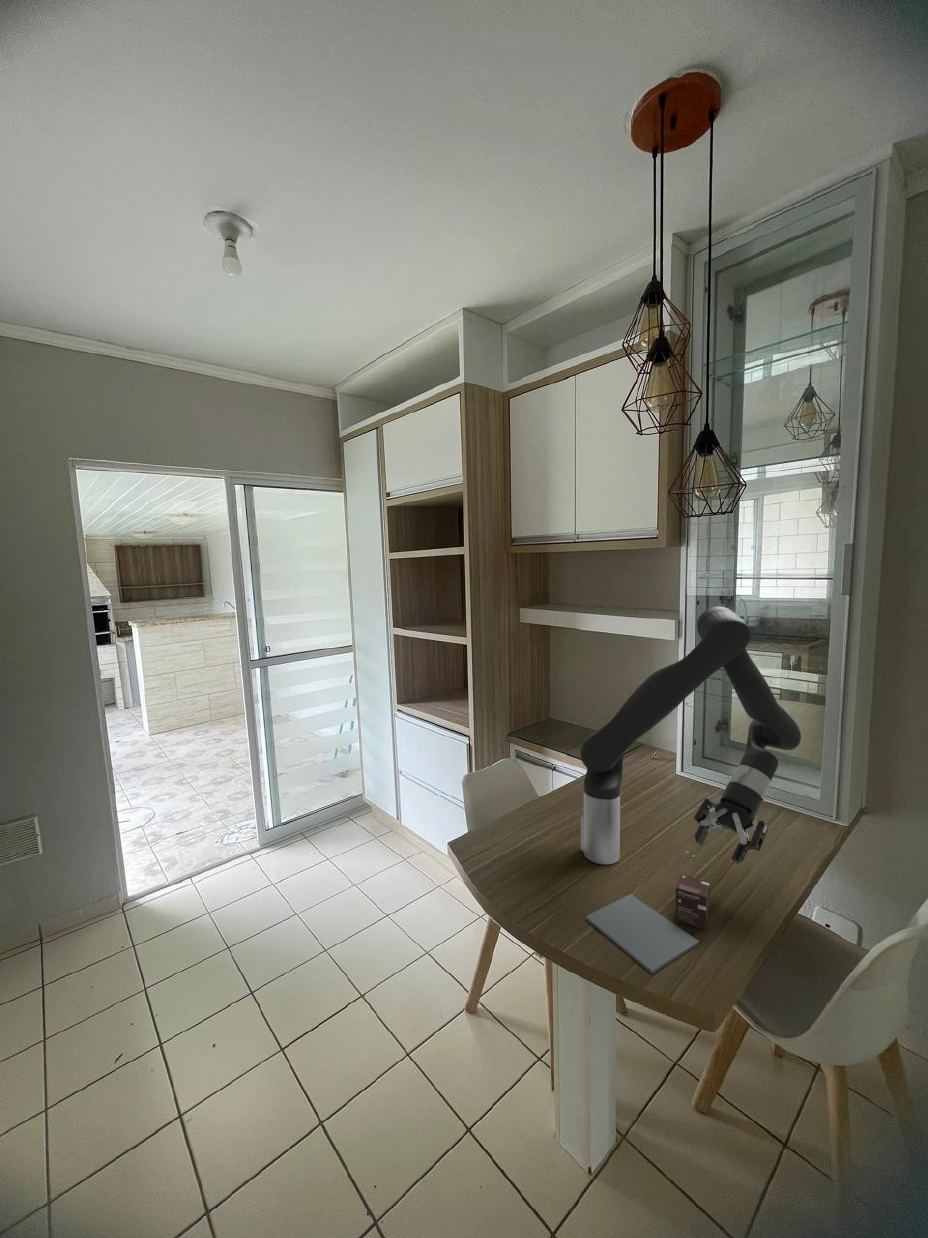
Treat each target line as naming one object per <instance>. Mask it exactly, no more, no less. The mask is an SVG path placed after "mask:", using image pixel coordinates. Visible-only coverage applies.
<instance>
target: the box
mask: <svg viewBox="0 0 928 1238" xmlns="http://www.w3.org/2000/svg"><path fill="white" fill-rule="evenodd" d="M710 892H711V883H710V882H708V881H705V880H702V879H699V878H697V877H694V876H689V875H686V874H682V873H680V875H679V878H678V881H677V884H676V887H675V906H674V907H675V910H674V912H675V914H674V917H675V918H674V919H675V920H677V921H678V922H681V923H684V924H687V925H689V926H692V927H695V928H698V929H701V930H706V929H707V924H708V919H709V914H710V894H711V893H710Z"/></svg>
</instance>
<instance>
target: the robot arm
mask: <svg viewBox="0 0 928 1238" xmlns="http://www.w3.org/2000/svg"><path fill="white" fill-rule="evenodd" d="M696 629H697V634H698V636H699V638H700V639H701V640H700V641H699V643H698V644H697V645H696V646H695V647H694V648H693V649H692V650H691V651H690V652H689V653H688V654H687V655H686V656H684V657H683V658H682V659H679V660H678V661H676V662H674V663H671V664H668V665H666V666H664V667H661V668H659V669H658V670H655V671H654V672H653V673H651V674H650V675H649V676H648V677H647V678H646V679H645V680H644V681H643V682H642V683H641V684H640V685H639V686H637V688H636V689H635V690H634V691H633V693H632V694H630V696H629V697H628V698H627V700H626V701H625V702H624V703H623V705H622V706H621V707H620V708H619V710H618V711H617V712H616V714H615V715H614V716H613V718H611V720H610V721H608V722H607V724H605V725H604V726H602V728H600V729H596V730H595V731H593V732H592V733H590V735H589V736H587V738H585V740H584V741H583V742H582V744H581V747H580V759H581V762H582V764H583V766H584V767H585V768H586V773H585V777H584V780H583V814H582V815H581V816H580V850H581V851H582V852H583V855H584V857H585V858H586V859H588V861H591V862H592V863H595V864H600V865H612V864H615V863H617V862H618V861H620V843H621V842H620V841H621V840H620V839H621V838H620V837H621V836H620V835H621V833H620V832H621V831H620V830H621V823H620V822H621V787H622V780H623V766H624V765H623V763H624V759H623V758H624V754H625V752H626V751H627V750H629V748H630V747H631V746H632V745H633V744H634V743H635V742H636V741H637V740H638V739H640V738H641V737H642V736H644V735H645V734H646V733H648V732H650V730H651V729H653V728H655V726H657V724H659V723H660V722H662V721H663V720H664V719H666V718H667V716H669V715H670V714H671V713H672V712H673V711H674V710H675V709H676V708H677V707H679V706H680V705H681V704H682V702H683V701H684V700H685V699H687V698H688V696H689V695H691V694H692V693H693V692H694V691H695V690H697V689H698V687H700V686H701V685H702V684H703V683H704V682H705V681H706V680H708V678H709V677H711V676H712V675H713V674H715V673H716V672H718V671H719V670H720V669H721V668H722V667H723V669H724V671H725V673H726V675H727V676H728V679H729V681H730V683H731V685H732V688H733V690H734V692H735V694H736V696H737V698H738V700H739V702H740V704H741V706H742V707H743V710H744V711H745V714H746V715H747V716H748V717H749V718H750V719H752V721H751V722H750V724H749V726H748V732H747V741H746V747H745V751H744V754H743V756H742V758H741V761H740V762H739V764H738V766H737V767H736V769H735V770H734V772H733V773H732V774H731V777H730V779H729V781H728V783H727V785H726V787H725V789H724V791H723V792H722V795H721V797H720V798H721V799H720V801H719V802H718V803H717V804H716V803H714V802H712V801H711V800H710V799H709V798H705V799H704V800H703V801H702V803H701V805H700V807H699V809H697V812H696V813H695V815H694V817H693V819H694V820H695V821H696V823H697V824H698V825H699V827H698V829H697V830H696V832H695V835H694V839H695V840H694V841H695V843H696V844H697V845H699V846H703V844H704V843H705V840H706V838H707V837H708V836H707V835H708V834H709V831H710V830H712V829H714V828H715V829H717V828H720V827H722V828H723V829H725V830H730V831H731V832H732V833H734V834H737V835H738V838H739V840H740V843H738V844H737V846H736V848H735V850H734V852H733V854H732V856H731V860H732V861H733V863H734V864H738V865H739V864H740V863H743V862H744V860H745V858H746V856H747V854H748V851H751V850H753V851H754V850H755V851H756V852H760V851H761V849H762V847H763V844H764V841H765V839H766V836H767V834H768V833H767V832H768V830H769V827H768V825H767V824H766V823H765V822H764V820H756V819H755V818H756V817H757V815H758V813H759V810H760V809H761V806H762V804H763V802H764V800H765V798H766V797H767V795H768V794H767V793H768V792H769V789H770V784H771V781H772V780H773V778H774V777H775V776H774V775H775V774H776V771H777V769H778V767H779V759H778V758H777V757H776V756H775V755H774V754H773V753H771V752H769V750H766V747H770V748H774V749H779V750H783V751H791V750H795V749H796V748H797V747H799V745H800V743H801V741H802V735H801V733H802V732H801V730H800V727H799V726H798V724H797V722H796V721H795V720H794V718H792V716H791V715H790V714H789V713H788V712H787V711H786V710H785V709H784V708H783V707H782V706H781V705H780V704H779V703H778V701H777V700H776V697H775V695H774V693H773V692H772V689H771V688H770V686H769V684H768V682H767V681H766V678H765V677H764V676H763V674H762V673H761V671H760V669H759V668H758V666H757V665H756V663H755V662H754V661H753V658H752V657H751V656H750V654H749V652H748V650H747V646H749V644H750V642H751V638H752V630H751V628H750V626H749V625H748V624H747V623H746V622H745V621H744V620H743V619H742V618H741V617H740V616H739V615H738V614H737V613H736V612H735V611H733V610H731V609H730V608H728V607H724V606H714V607H713V606H712V607H710V608H707V609H705V610H704V611H702V613H701V614H700V615H699V617H698V619H697V622H696ZM714 810H715V812H714ZM713 812H714V813H713ZM752 827H753V828H754V832H753V834H752V837H751V840H750V837H749V834H748V831H747V829H750V828H752Z"/></svg>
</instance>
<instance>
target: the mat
mask: <svg viewBox="0 0 928 1238" xmlns="http://www.w3.org/2000/svg"><path fill="white" fill-rule="evenodd" d="M585 920H586V921H588V922H589V923H590V924H591V925H592V926H594V927H595V928H596V929H597V930H599V931H600V932H601V933H602V934H603V935H605V936H606V937H607V938H608V939H609V940H611V941H612V942H613V943H614V944H615V945H616V946H618V947H619V948H620V949H622V951H624V952H625V953H626V954H628V956H630V957H631V958H632V959H634V960H635V961H636V962H637V963H638V964H640V965H641V966H642V967H643V968H644V969H645V970H647V971H648V972H649V973H651V974H655V973H656V972H658V971H660V970H661V969H662V968H664V967H666V966H667V965H669V964H670V963H672V962H674V961H675V960H676V959H678V958H680V957H681V956H683V955H684V954H685V953H687V952H689V951H690V950H692V949H693V948H695V947H697V946H699V944H700V941H699V940H698V939H696V938H695V937H693V936H692V935H690V934H689V933H688V932H686V931H685V930H683V928H680V927H679V926H678V925H676V924H674V923H673V922H672V921H670V920H669V919H667V918H666V917H664V916H663V915H661V914H660V913H658V912H657V911H656V910H654V909H652V908H651V907H650V906H648V905H647V904H645V903H644V902H642V901H641V900H639V899H638V898H636V897H635V896H633V894H631V893H629V894H627V895H625V896H624V897H621V898H620V899H618V900H615V901H613V902H611V903H609V904H607V905H606V906H604V907H602V908H599V909H598V910H596V911H593V912H592V913H590V914H588V915H586V916H585Z"/></svg>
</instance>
